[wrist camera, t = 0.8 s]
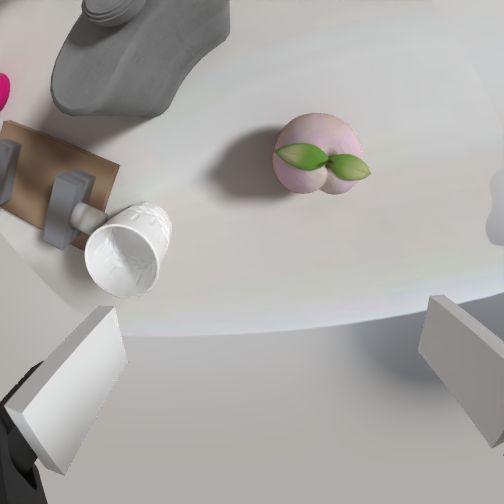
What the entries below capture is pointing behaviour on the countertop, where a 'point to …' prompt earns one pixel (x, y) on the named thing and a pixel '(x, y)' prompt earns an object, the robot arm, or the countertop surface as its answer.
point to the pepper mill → (4, 90)
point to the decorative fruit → (318, 155)
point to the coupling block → (54, 185)
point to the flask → (134, 54)
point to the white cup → (129, 250)
